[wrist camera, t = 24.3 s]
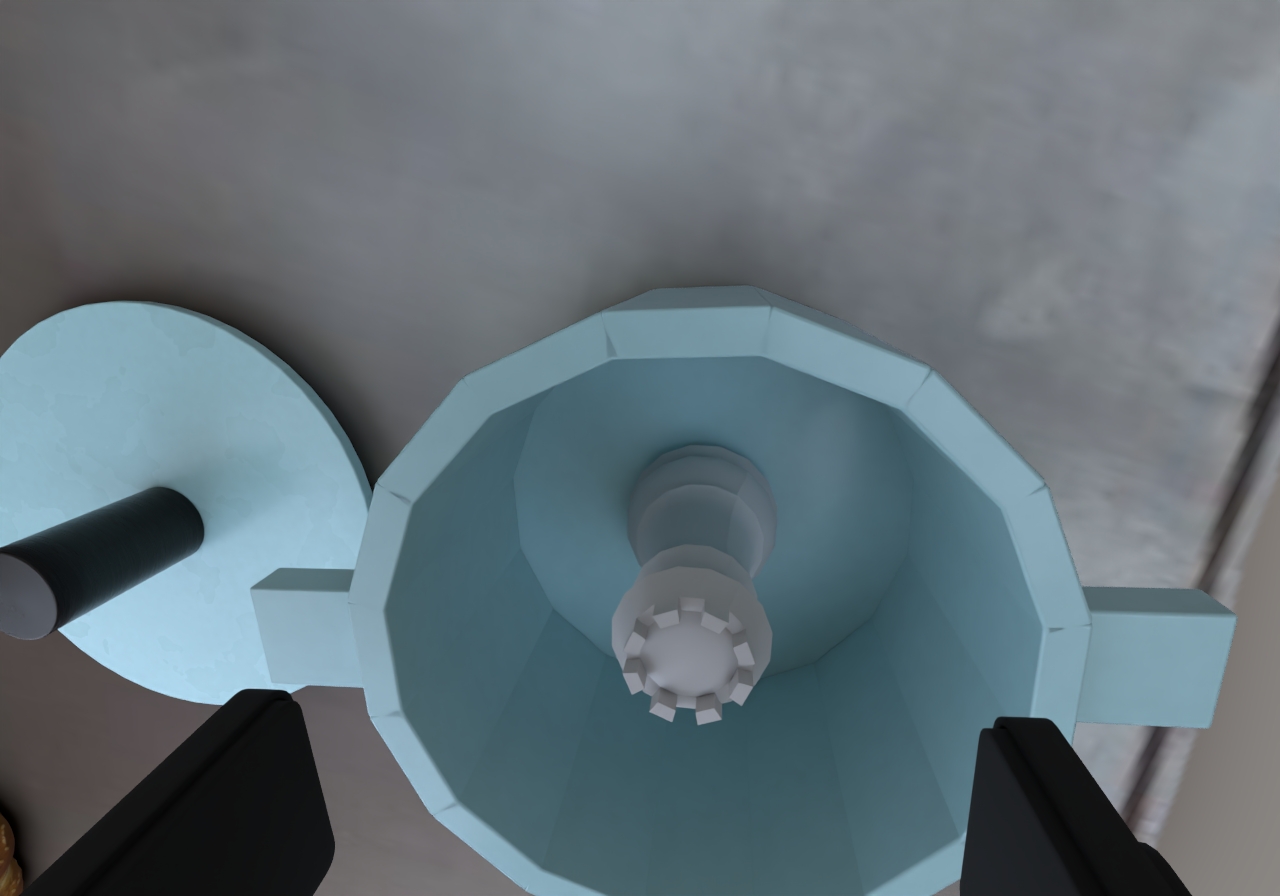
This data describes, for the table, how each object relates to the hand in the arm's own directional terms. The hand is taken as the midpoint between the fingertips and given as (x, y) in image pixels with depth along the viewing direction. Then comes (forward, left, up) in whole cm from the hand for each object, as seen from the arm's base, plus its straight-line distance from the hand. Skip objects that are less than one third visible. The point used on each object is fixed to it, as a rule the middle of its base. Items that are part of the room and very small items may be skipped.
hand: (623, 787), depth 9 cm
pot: (+1, +1, -12) cm, 12 cm away
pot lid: (+1, -17, -11) cm, 21 cm away
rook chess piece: (0, +1, -12) cm, 12 cm away
